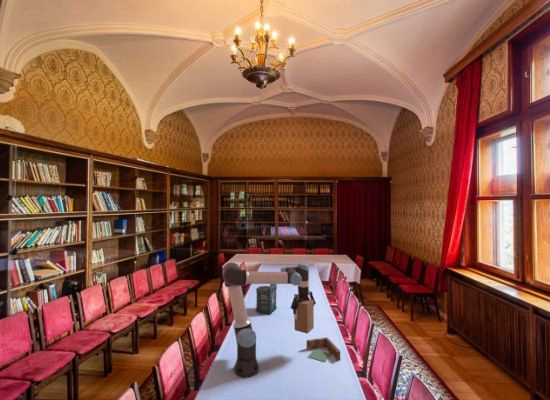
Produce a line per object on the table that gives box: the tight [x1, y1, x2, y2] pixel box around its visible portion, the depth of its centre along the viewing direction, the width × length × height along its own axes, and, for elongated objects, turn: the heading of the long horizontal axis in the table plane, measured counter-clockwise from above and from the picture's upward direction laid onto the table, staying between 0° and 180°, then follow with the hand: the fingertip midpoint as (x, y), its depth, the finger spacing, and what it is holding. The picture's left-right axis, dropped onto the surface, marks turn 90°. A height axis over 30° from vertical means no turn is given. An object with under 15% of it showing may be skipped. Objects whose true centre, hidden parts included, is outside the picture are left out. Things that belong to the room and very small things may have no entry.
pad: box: [307, 348, 332, 363], centre depth 204 cm, size 12×12×1 cm
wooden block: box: [294, 299, 315, 334], centre depth 207 cm, size 10×10×20 cm
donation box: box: [255, 284, 278, 316], centre depth 283 cm, size 16×16×28 cm
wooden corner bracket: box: [306, 337, 341, 361], centre depth 206 cm, size 16×20×6 cm
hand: (303, 316), depth 208 cm, fingers closed on wooden block, 13 cm apart
